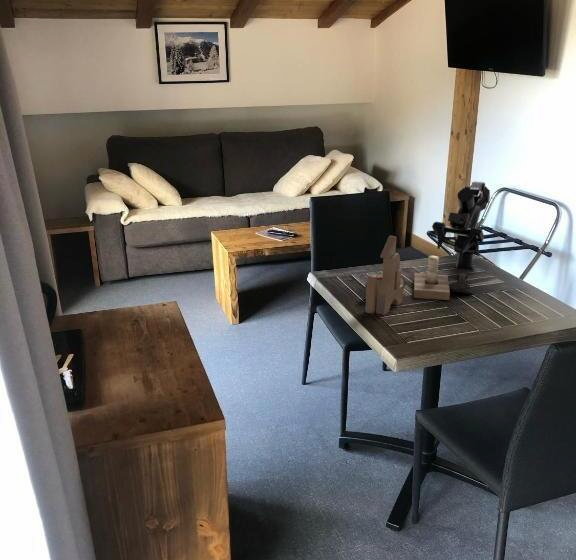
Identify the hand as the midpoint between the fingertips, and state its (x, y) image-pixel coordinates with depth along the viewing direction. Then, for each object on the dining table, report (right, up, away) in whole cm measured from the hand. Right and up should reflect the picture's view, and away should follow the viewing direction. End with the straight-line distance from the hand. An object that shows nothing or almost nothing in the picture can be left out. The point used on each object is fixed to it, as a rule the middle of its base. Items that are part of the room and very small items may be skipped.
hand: (449, 250), depth 212 cm
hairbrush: (+4, -13, +1) cm, 14 cm away
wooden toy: (-28, -20, -19) cm, 39 cm away
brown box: (-8, -14, -4) cm, 17 cm away
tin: (-26, -17, -10) cm, 32 cm away
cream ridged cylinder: (-8, -14, -4) cm, 17 cm away
